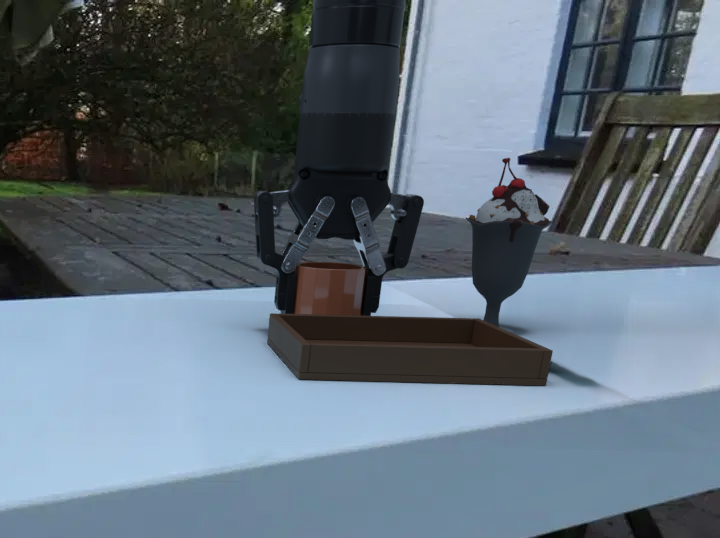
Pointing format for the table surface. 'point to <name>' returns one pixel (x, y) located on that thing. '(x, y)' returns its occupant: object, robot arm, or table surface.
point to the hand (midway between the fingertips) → (325, 316)
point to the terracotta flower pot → (329, 288)
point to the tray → (406, 350)
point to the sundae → (505, 241)
